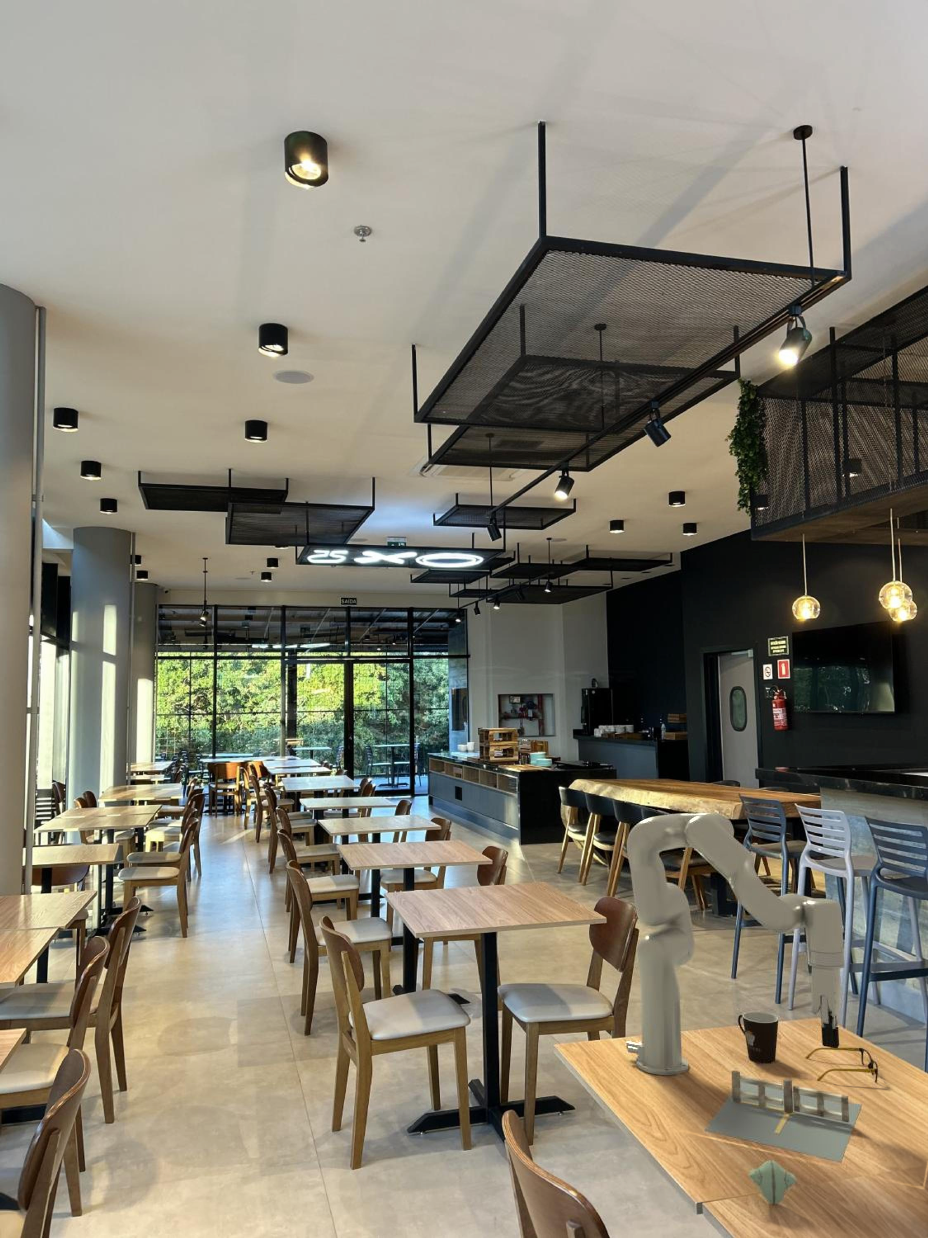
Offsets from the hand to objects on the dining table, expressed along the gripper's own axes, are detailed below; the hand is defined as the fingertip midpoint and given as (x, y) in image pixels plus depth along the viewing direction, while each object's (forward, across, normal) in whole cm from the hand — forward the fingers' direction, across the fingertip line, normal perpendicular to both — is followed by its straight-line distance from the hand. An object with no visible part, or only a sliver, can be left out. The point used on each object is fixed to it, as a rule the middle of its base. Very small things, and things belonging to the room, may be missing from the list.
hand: (830, 1046), depth 192 cm
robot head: (+14, +44, -4) cm, 46 cm away
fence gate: (+13, +5, -2) cm, 14 cm away
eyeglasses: (+14, -27, -2) cm, 30 cm away
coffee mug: (+14, -26, -22) cm, 37 cm away
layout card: (+14, +8, -8) cm, 18 cm away
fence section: (+13, +5, -14) cm, 20 cm away
